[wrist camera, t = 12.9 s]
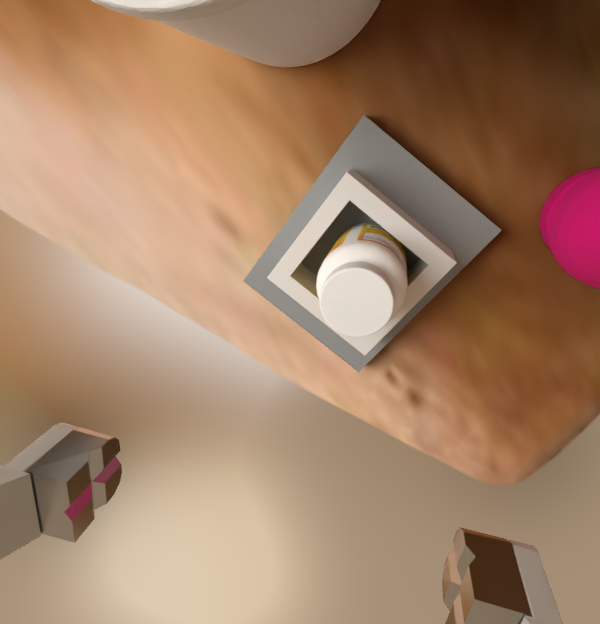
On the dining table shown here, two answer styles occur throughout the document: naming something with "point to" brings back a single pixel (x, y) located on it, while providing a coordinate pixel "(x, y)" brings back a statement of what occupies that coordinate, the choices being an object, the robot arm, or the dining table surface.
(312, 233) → the docking board
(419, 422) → the dining table surface
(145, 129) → the dining table surface
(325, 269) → the supplement bottle
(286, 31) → the utensil holder
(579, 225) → the pepper mill
